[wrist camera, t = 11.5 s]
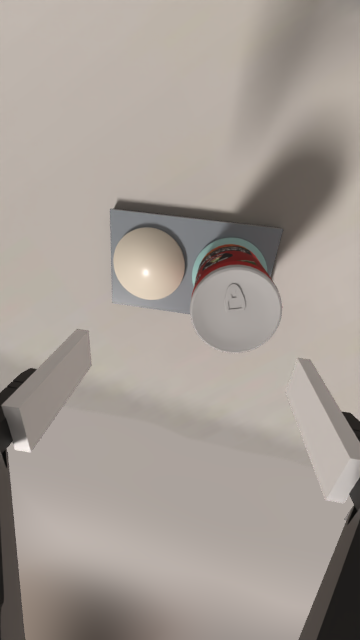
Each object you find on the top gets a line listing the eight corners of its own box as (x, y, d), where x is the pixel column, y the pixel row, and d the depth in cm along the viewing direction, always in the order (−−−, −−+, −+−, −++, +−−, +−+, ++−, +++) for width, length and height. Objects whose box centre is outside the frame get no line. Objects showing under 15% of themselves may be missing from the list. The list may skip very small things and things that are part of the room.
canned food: (247, 230, 29) (264, 249, 19) (270, 292, 31) (295, 337, 22) (186, 259, 31) (172, 290, 21) (212, 315, 34) (211, 364, 24)
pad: (188, 303, 34) (188, 305, 33) (197, 233, 30) (196, 233, 29) (256, 313, 33) (257, 315, 33) (275, 242, 29) (276, 243, 29)
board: (115, 299, 36) (110, 304, 35) (113, 208, 31) (108, 209, 29) (256, 320, 35) (258, 325, 33) (280, 228, 30) (284, 229, 28)
